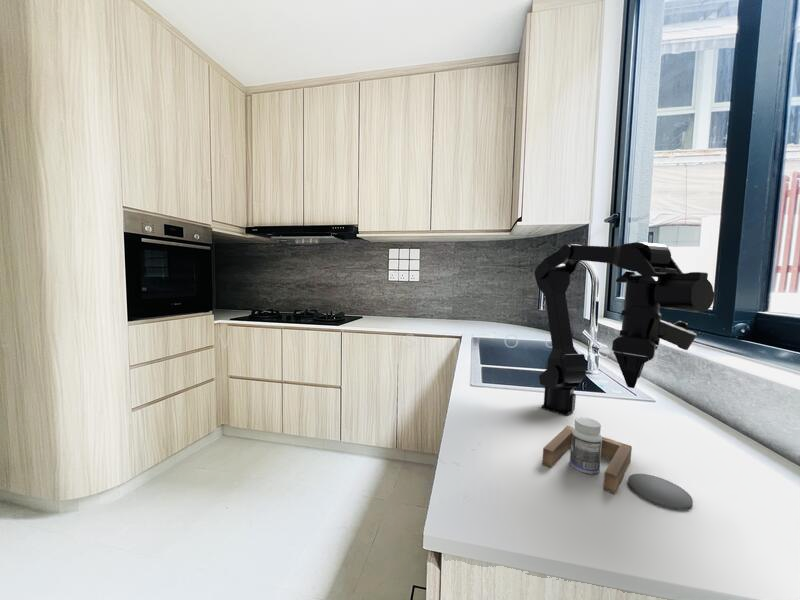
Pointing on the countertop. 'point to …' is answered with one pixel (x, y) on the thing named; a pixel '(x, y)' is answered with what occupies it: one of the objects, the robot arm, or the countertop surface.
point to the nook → (610, 449)
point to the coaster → (660, 491)
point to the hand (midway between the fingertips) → (633, 382)
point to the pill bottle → (586, 445)
